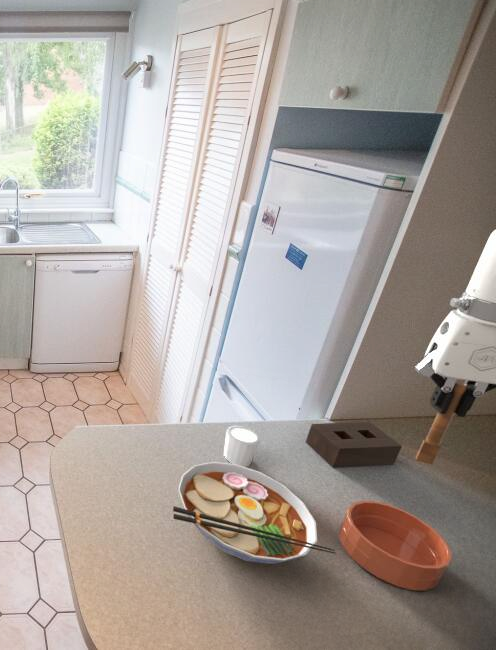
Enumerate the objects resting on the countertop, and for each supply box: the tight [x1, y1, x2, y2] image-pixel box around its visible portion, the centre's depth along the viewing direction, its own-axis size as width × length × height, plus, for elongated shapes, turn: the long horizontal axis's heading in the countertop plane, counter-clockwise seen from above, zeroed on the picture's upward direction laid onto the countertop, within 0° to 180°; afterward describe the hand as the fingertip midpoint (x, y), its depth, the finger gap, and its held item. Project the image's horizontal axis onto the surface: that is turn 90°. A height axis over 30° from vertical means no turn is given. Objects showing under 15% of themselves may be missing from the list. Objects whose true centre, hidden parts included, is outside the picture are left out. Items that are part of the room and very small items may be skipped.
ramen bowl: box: [172, 461, 336, 565], centre depth 85 cm, size 25×23×8 cm
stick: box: [414, 379, 468, 465], centre depth 76 cm, size 2×2×16 cm
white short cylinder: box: [223, 424, 261, 468], centre depth 104 cm, size 7×7×7 cm
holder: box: [305, 421, 403, 469], centre depth 106 cm, size 9×15×6 cm, turn 93°
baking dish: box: [338, 500, 453, 591], centre depth 81 cm, size 14×14×6 cm
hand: (447, 409), depth 75 cm, fingers closed on stick, 1 cm apart
